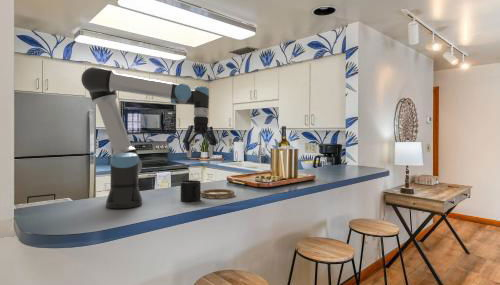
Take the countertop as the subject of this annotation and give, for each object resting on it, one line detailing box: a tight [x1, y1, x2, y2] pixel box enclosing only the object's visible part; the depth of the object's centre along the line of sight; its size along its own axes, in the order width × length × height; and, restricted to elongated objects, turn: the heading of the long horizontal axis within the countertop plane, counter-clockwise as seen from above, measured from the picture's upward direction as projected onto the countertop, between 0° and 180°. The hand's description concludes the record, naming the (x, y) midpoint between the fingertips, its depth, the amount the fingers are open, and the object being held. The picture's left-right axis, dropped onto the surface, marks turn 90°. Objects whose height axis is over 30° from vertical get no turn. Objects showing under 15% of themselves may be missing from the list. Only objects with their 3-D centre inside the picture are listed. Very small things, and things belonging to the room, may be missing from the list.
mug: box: [180, 179, 202, 203], centre depth 146 cm, size 9×12×9 cm
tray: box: [201, 188, 235, 200], centre depth 161 cm, size 17×17×2 cm
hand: (200, 157), depth 161 cm, fingers open, 13 cm apart
